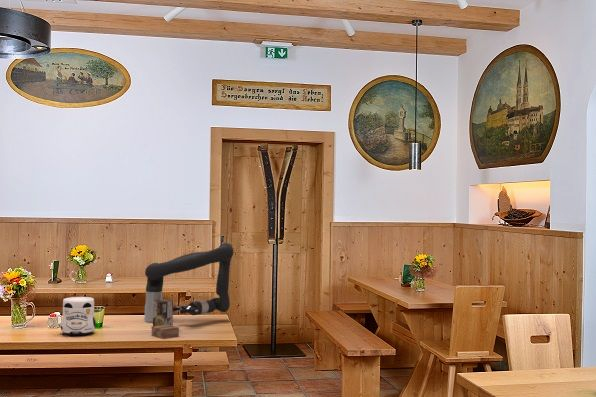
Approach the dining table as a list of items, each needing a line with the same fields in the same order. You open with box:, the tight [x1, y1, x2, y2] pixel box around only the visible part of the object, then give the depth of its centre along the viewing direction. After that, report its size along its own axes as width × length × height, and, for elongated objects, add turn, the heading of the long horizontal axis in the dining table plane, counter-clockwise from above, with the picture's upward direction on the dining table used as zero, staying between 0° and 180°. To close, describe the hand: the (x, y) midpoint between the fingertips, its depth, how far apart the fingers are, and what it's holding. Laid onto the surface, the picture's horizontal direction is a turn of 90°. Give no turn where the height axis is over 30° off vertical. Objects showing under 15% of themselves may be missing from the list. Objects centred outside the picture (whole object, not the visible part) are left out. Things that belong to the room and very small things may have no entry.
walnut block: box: [151, 325, 180, 340], centre depth 366 cm, size 10×10×5 cm
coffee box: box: [152, 299, 174, 327], centre depth 381 cm, size 9×6×16 cm
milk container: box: [60, 296, 97, 336], centre depth 368 cm, size 17×17×18 cm
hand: (175, 310), depth 387 cm, fingers open, 8 cm apart
